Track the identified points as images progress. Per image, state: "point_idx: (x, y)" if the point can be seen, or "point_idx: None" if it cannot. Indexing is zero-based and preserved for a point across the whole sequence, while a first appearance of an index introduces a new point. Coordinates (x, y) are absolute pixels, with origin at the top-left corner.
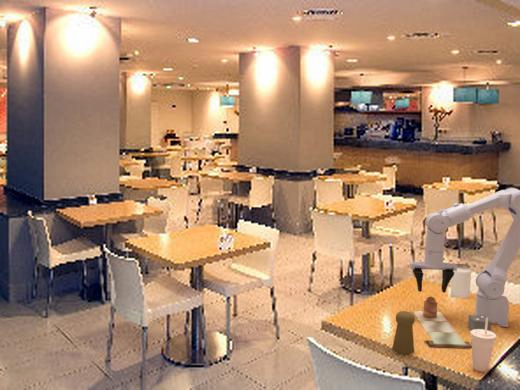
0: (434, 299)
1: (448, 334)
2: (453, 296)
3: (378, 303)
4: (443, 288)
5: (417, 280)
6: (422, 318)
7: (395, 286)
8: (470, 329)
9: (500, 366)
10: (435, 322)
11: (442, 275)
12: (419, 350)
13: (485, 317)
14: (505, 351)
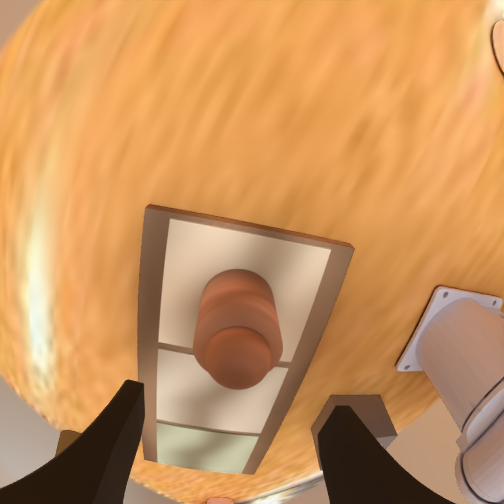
0: (254, 385)
1: (223, 441)
2: (499, 53)
3: (56, 49)
4: (325, 455)
5: (91, 445)
6: (182, 326)
7: None
8: (323, 421)
9: (264, 499)
10: None
11: (390, 502)
12: None
13: (383, 446)
14: None
